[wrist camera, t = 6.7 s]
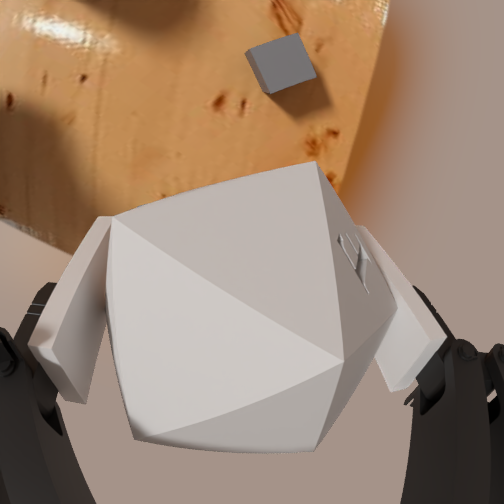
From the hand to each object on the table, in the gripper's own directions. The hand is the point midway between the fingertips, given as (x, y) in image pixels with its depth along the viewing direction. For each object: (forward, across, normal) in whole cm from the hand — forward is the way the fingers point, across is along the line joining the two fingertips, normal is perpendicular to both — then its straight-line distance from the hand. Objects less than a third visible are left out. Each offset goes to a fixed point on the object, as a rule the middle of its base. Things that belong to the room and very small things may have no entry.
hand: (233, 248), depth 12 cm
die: (0, 0, 0) cm, 0 cm away
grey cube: (+24, +5, +9) cm, 26 cm away
